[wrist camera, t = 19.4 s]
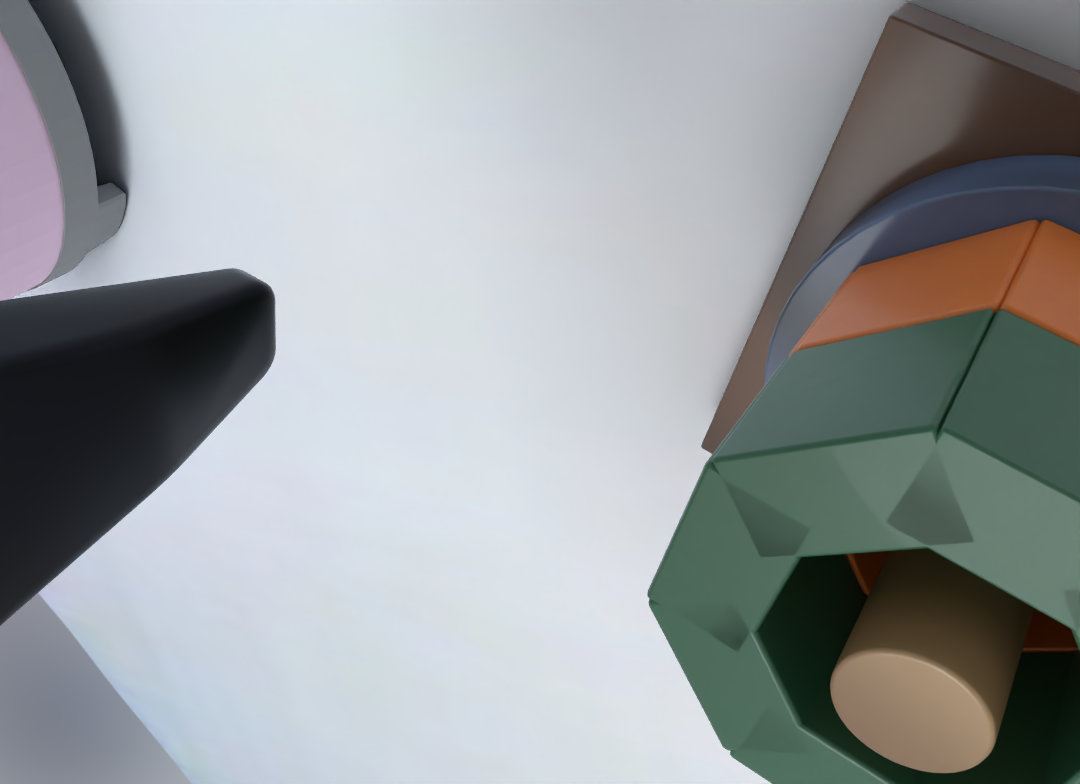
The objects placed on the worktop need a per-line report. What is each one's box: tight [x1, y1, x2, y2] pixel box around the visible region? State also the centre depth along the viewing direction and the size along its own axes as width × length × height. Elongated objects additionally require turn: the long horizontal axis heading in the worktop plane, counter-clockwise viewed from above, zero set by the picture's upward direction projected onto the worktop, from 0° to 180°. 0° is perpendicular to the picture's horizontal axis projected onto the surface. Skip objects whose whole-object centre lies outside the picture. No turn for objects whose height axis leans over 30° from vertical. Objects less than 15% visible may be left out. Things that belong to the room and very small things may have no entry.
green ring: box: [648, 309, 1080, 784], centre depth 14 cm, size 7×7×3 cm
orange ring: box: [788, 220, 1080, 653], centre depth 16 cm, size 7×7×3 cm
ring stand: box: [701, 3, 1080, 773], centre depth 16 cm, size 10×10×9 cm
